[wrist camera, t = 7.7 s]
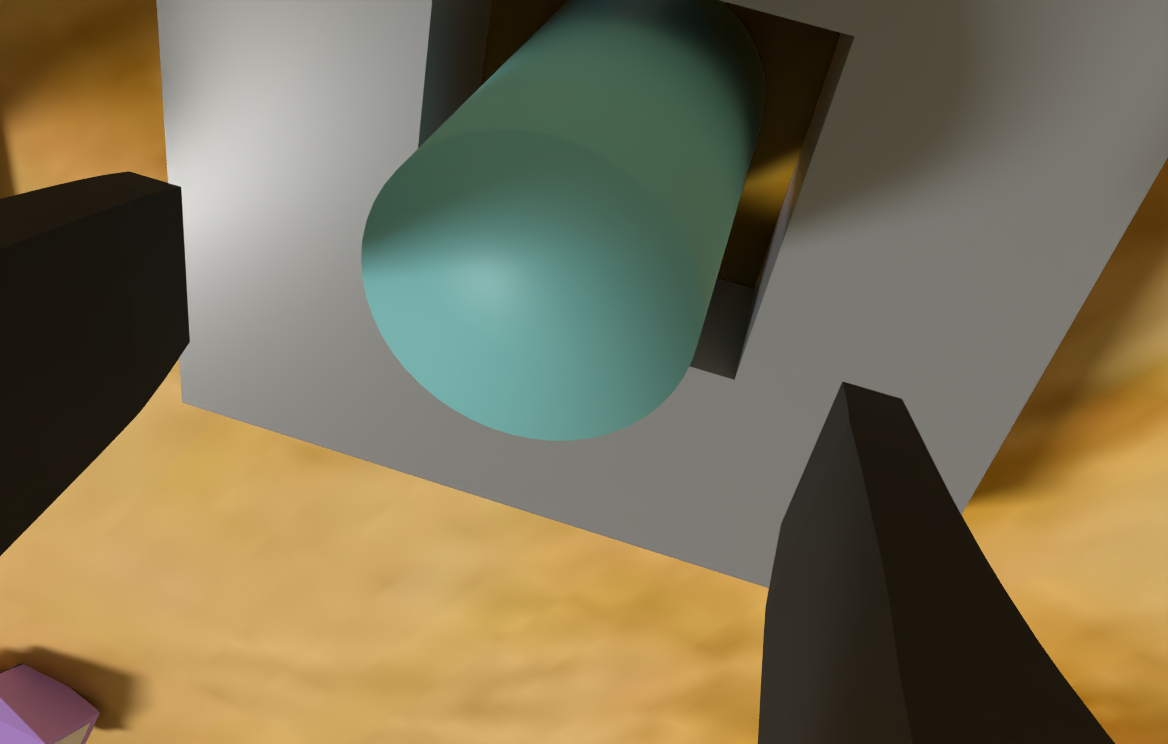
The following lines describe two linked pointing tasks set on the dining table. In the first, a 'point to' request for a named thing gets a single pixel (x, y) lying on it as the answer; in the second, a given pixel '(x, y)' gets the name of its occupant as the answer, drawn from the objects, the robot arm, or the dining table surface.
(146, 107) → the dining table surface
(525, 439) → the socket
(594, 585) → the dining table surface
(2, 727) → the figurine
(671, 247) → the peg
